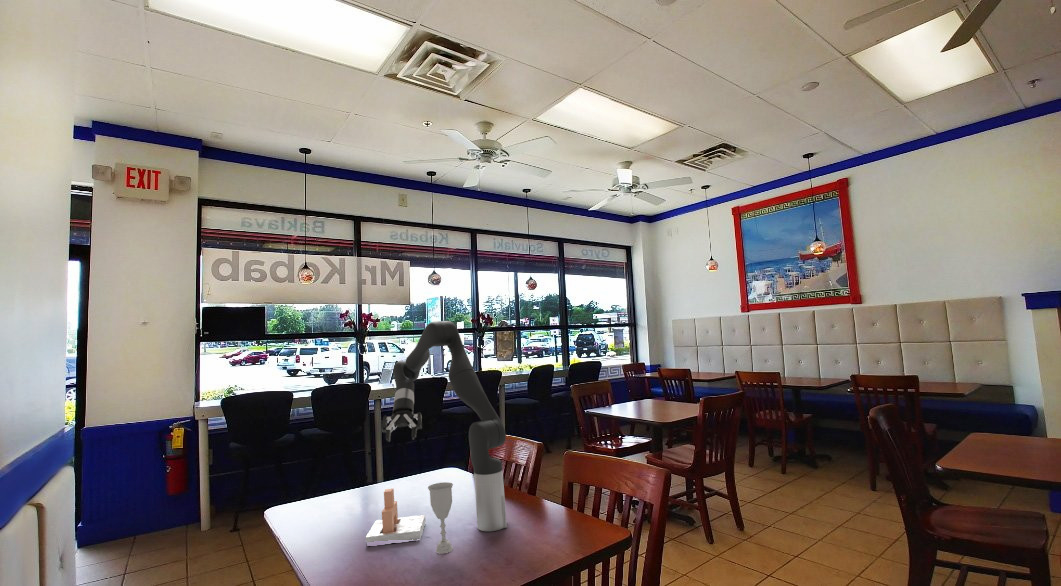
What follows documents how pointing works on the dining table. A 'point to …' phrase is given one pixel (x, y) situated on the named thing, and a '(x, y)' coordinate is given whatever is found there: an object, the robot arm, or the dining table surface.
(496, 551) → the dining table surface
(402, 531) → the plate
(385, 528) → the clip
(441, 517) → the chalice
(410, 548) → the dining table surface
